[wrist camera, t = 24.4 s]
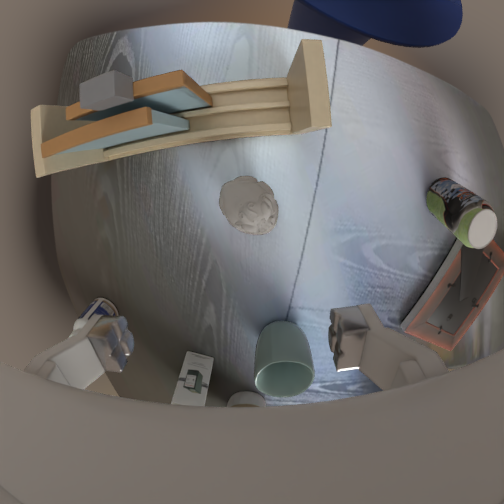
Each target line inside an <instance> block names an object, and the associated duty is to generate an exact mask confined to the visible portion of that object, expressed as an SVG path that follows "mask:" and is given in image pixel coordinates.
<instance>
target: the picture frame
mask: <svg viewBox="0 0 504 504" xmlns="http://www.w3.org/2000/svg"><path fill="white" fill-rule="evenodd" d="M503 275H504V252H503V251H502V250H501V249H500V247H499V246H498V245H497V244H496V243H495V241H494V240H493V239H492V241H491V242H490V243H489V244H488V245H487V246H486V247H484V248H482V249H476V248H470V247H467V246H465V245H464V244H463V243H462V242H461V241H460V240H459V239H458V238H457V240H456V242H455V244H454V245H453V247H452V249H451V251H450V252H449V254H448V256H447V258H446V259H445V261H444V262H443V264H442V266H441V267H440V269H439V271H438V272H437V274H436V275H435V277H434V279H433V280H432V282H431V283H430V285H429V286H428V288H427V289H426V291H425V292H424V294H423V295H422V296H421V298H420V299H419V301H418V302H417V303H416V305H415V306H414V307H413V308H412V310H411V311H410V313H409V314H408V315H407V317H406V318H405V319H404V321H403V322H402V323H401V325H400V327H401V328H402V330H403V331H404V332H405V333H408V334H410V335H413V336H415V337H418V338H420V339H422V340H425V341H427V342H430V343H432V344H435V345H437V346H440V347H442V348H445V349H447V350H450V351H451V350H452V349H453V348H454V346H455V345H456V344H457V343H458V341H459V340H460V339H461V338H462V336H463V335H464V334H465V333H466V331H467V330H468V329H469V327H470V326H471V325H472V323H473V322H474V320H475V319H476V318H477V316H478V315H479V313H480V312H481V310H482V309H483V307H484V306H485V304H486V303H487V301H488V300H489V298H490V297H491V295H492V293H493V292H494V290H495V288H496V287H497V285H498V283H499V282H500V280H501V278H502V277H503Z"/></svg>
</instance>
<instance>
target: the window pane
mask: <svg viewBox="0 0 504 504" xmlns="http://www.w3.org/2000/svg"><path fill="white" fill-rule="evenodd" d="M212 106H213V103H212V97H211V96H210V95H209V94H208V93H207V92H206V91H205V90H204V89H203V88H201V87H200V86H199V85H198V84H197V83H196V82H195V81H194V80H193V79H192V78H190V77H189V76H188V75H187V74H186V73H185V72H184V71H183V70H178V71H174V72H169V73H165V74H161V75H157V76H153V77H149V78H146V79H142V80H139V81H135V82H133V78H132V77H130V76H128V75H125V74H123V73H120V72H118V71H116V70H112V71H109V72H107V73H104V74H102V75H99V76H97V77H94V78H92V79H89V80H87V81H85V82H82V83H80V102H77V103H75V104H73V105H71V106H68V107H66V120H82V121H99V120H102V119H105V118H108V117H111V116H114V115H117V114H121V113H124V112H127V111H131V110H135V109H138V108H142V107H150V108H151V109H152V110H156V111H160V112H163V113H167V114H171V113H176V112H182V111H187V110H193V109H199V108H205V107H212Z"/></svg>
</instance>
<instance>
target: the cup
mask: <svg viewBox="0 0 504 504" xmlns="http://www.w3.org/2000/svg"><path fill="white" fill-rule="evenodd" d="M314 377H315V370H314V364H313V359H312V354H311V350H310V346H309V343H308V340H307V337H306V335H305V333H304V332H303V331H302V329H301V328H300V327H299V326H297V325H296V324H294V323H292V322H289V321H275V322H272V323H270V324H268V325H267V326H266V327H265V328H264V329H263V330H262V332H261V333H260V335H259V338H258V341H257V344H256V351H255V363H254V381H255V385H256V387H257V389H259V390H260V391H261V392H262V393H264V394H267V395H269V396H273V397H292V396H296V395H298V394H301V393H302V392H304V391H305V390H307V389H308V388H309V387H310V385H311V384H312V382H313V380H314Z"/></svg>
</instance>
